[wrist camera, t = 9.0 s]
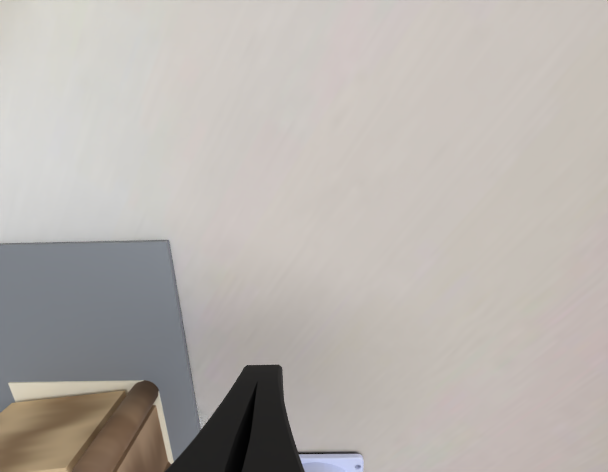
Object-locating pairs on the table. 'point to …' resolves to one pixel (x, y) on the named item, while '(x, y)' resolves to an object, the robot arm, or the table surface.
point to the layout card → (95, 327)
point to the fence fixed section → (129, 437)
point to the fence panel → (52, 431)
